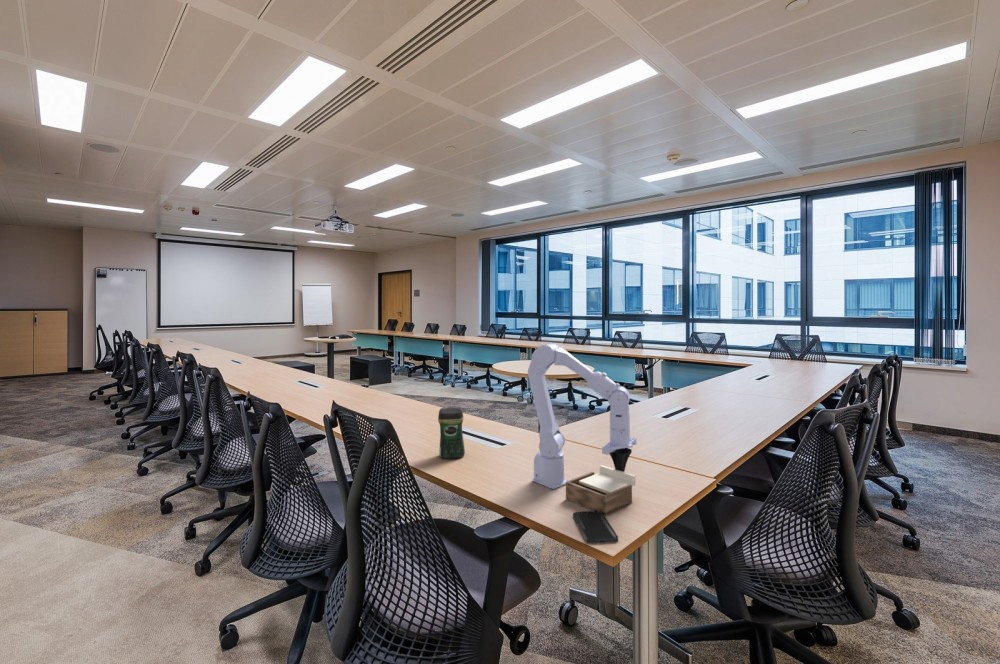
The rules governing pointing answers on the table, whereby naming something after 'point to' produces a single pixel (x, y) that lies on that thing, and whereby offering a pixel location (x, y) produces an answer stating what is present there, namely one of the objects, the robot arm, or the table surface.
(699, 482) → the table surface
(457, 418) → the coffee jar
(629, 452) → the robot arm
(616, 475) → the lid
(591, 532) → the phone
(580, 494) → the box
